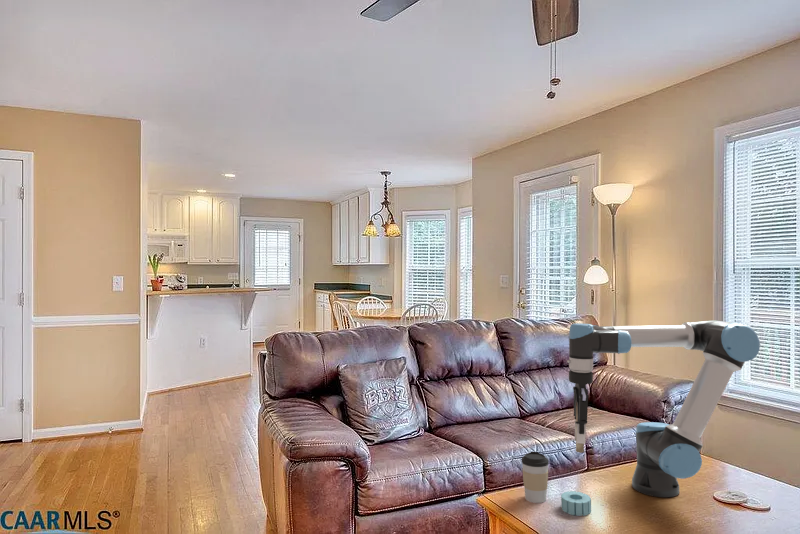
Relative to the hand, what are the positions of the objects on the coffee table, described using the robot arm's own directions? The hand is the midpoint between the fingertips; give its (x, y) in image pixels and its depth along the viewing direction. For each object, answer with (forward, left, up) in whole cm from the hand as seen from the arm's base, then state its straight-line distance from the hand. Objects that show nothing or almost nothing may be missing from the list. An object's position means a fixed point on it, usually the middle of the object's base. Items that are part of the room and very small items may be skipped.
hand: (580, 441), depth 173 cm
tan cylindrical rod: (0, 0, -3) cm, 3 cm away
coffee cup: (+14, -5, -22) cm, 26 cm away
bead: (+2, +2, -21) cm, 22 cm away
